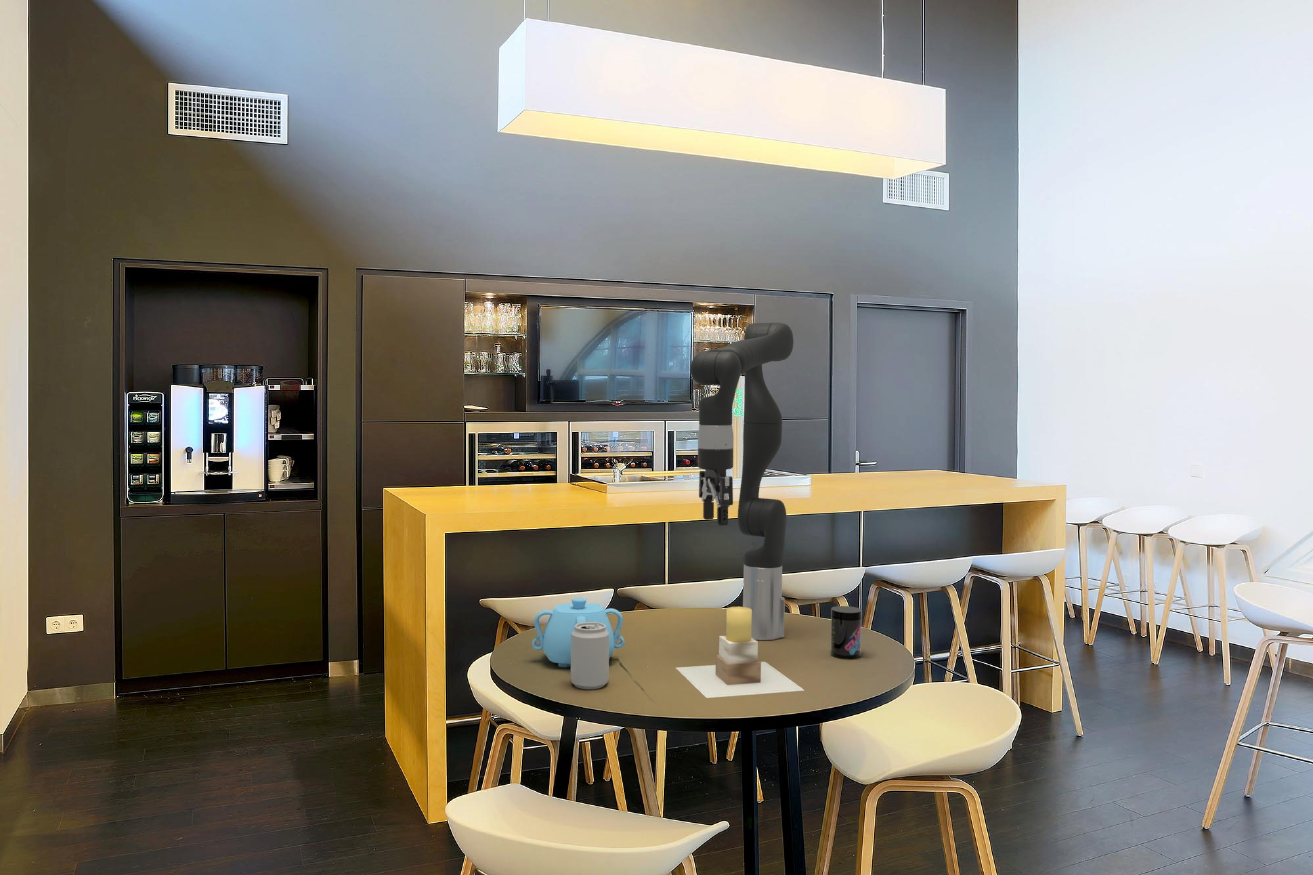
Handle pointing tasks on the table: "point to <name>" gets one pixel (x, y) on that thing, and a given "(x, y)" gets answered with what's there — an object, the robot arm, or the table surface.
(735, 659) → the top block
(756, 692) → the board
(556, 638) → the decorative pot
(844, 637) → the supplement container
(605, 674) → the can
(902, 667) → the table surface
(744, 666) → the bottom block
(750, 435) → the robot arm
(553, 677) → the table surface
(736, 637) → the cylinder
